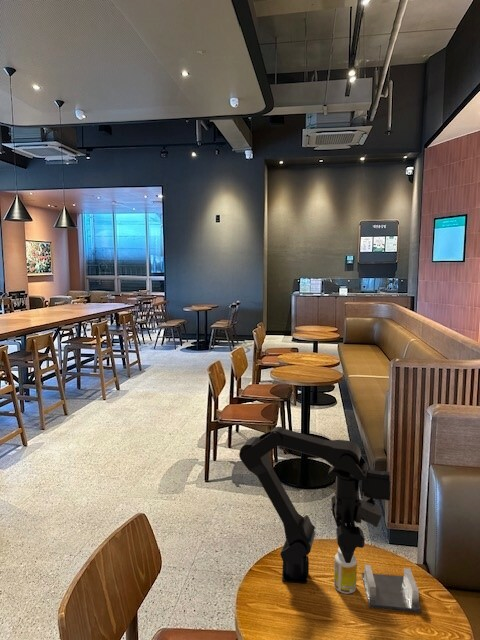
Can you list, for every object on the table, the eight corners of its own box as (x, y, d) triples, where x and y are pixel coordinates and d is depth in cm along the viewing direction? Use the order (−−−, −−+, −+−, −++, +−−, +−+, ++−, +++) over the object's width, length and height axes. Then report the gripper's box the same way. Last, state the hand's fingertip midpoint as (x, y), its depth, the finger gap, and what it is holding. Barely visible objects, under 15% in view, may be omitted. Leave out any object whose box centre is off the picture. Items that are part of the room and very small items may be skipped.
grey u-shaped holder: (421, 612, 102) (421, 595, 101) (369, 608, 103) (369, 591, 103) (408, 580, 113) (409, 564, 112) (362, 576, 114) (362, 560, 114)
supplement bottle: (360, 588, 110) (361, 551, 109) (347, 598, 107) (348, 560, 105) (342, 576, 114) (343, 540, 113) (329, 585, 111) (330, 549, 110)
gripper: (388, 515, 97) (385, 579, 99) (373, 477, 116) (371, 531, 118) (338, 512, 99) (336, 574, 101) (331, 474, 117) (330, 528, 119)
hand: (345, 550), depth 109 cm, fingers open, 9 cm apart
